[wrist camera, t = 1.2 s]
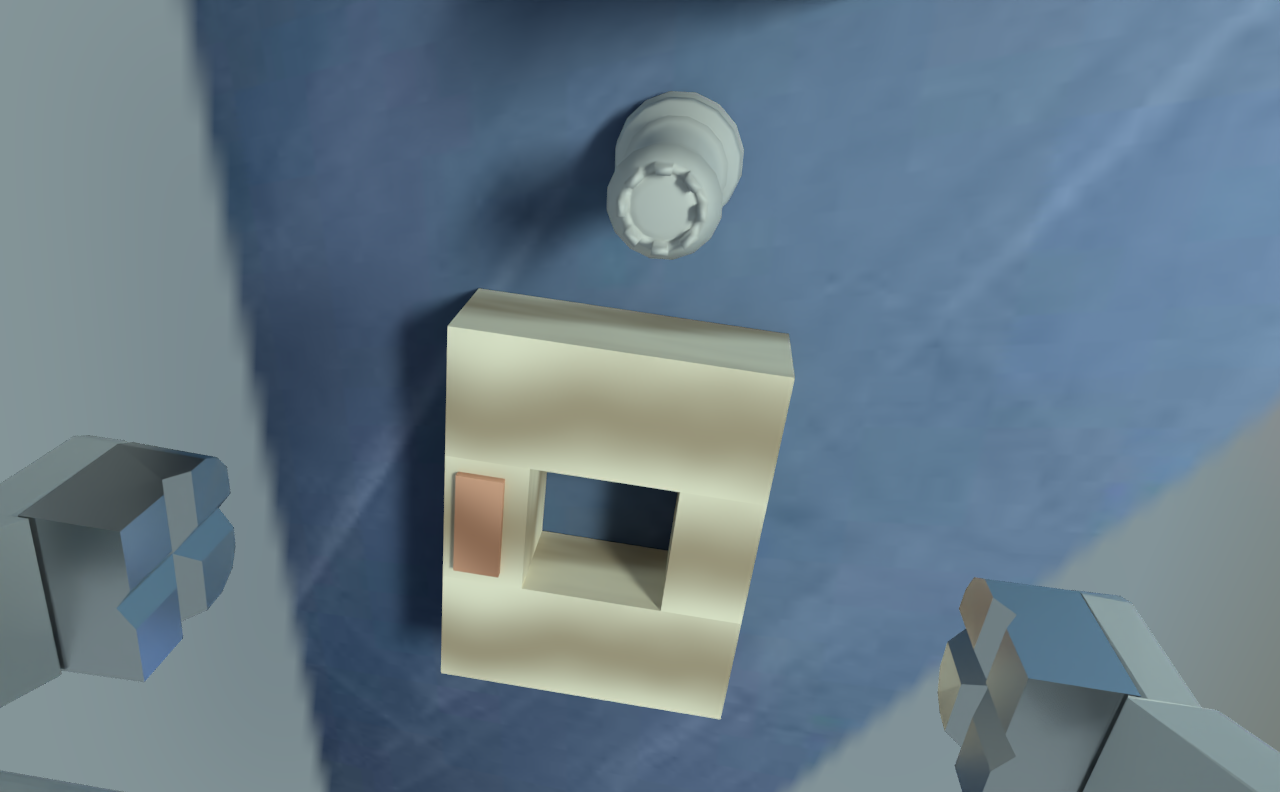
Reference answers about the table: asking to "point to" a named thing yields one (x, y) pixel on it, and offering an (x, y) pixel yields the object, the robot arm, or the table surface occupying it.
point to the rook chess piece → (673, 174)
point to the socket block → (612, 451)
